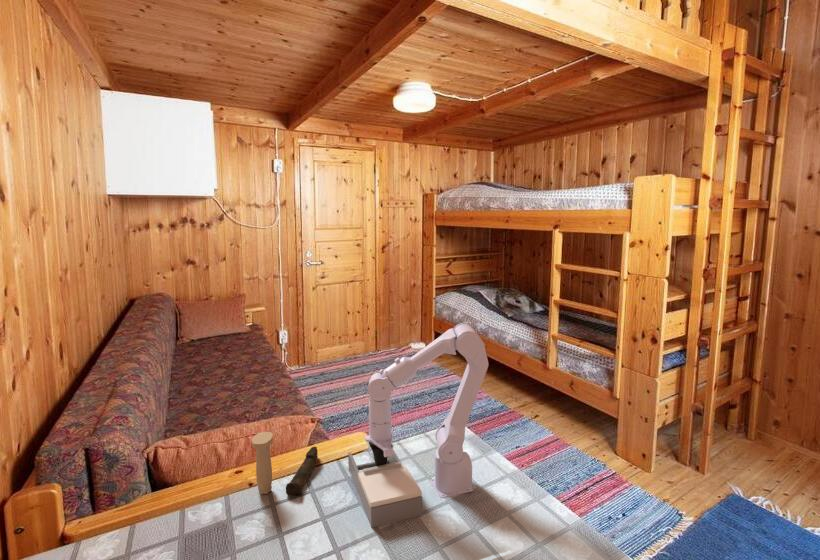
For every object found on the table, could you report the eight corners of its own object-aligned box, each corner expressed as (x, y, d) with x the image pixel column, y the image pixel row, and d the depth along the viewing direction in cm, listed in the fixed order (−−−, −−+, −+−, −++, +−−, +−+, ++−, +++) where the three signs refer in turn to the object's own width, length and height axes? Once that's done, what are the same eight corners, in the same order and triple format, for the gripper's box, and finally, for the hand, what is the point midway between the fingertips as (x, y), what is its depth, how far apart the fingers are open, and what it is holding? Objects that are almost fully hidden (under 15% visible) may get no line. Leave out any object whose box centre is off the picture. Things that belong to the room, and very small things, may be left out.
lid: (404, 467, 114) (404, 460, 114) (421, 495, 102) (421, 487, 102) (358, 477, 110) (358, 469, 110) (370, 507, 98) (370, 499, 98)
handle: (252, 499, 109) (249, 444, 107) (259, 484, 115) (256, 432, 113) (271, 498, 110) (268, 443, 107) (277, 483, 116) (274, 431, 114)
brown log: (300, 498, 110) (299, 482, 109) (285, 497, 110) (284, 480, 110) (325, 458, 128) (325, 444, 128) (312, 457, 129) (312, 443, 128)
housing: (390, 461, 126) (390, 445, 126) (422, 516, 103) (422, 497, 102) (348, 469, 122) (348, 452, 122) (371, 529, 98) (371, 509, 98)
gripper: (358, 410, 116) (359, 457, 118) (372, 435, 103) (373, 487, 105) (383, 406, 119) (384, 452, 120) (400, 430, 105) (400, 481, 107)
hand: (380, 468), depth 113 cm, fingers closed
